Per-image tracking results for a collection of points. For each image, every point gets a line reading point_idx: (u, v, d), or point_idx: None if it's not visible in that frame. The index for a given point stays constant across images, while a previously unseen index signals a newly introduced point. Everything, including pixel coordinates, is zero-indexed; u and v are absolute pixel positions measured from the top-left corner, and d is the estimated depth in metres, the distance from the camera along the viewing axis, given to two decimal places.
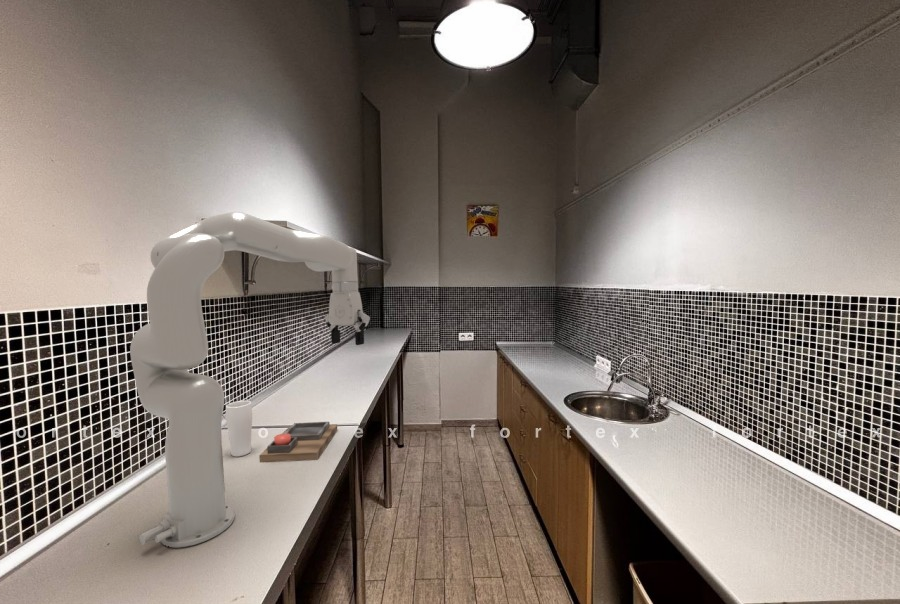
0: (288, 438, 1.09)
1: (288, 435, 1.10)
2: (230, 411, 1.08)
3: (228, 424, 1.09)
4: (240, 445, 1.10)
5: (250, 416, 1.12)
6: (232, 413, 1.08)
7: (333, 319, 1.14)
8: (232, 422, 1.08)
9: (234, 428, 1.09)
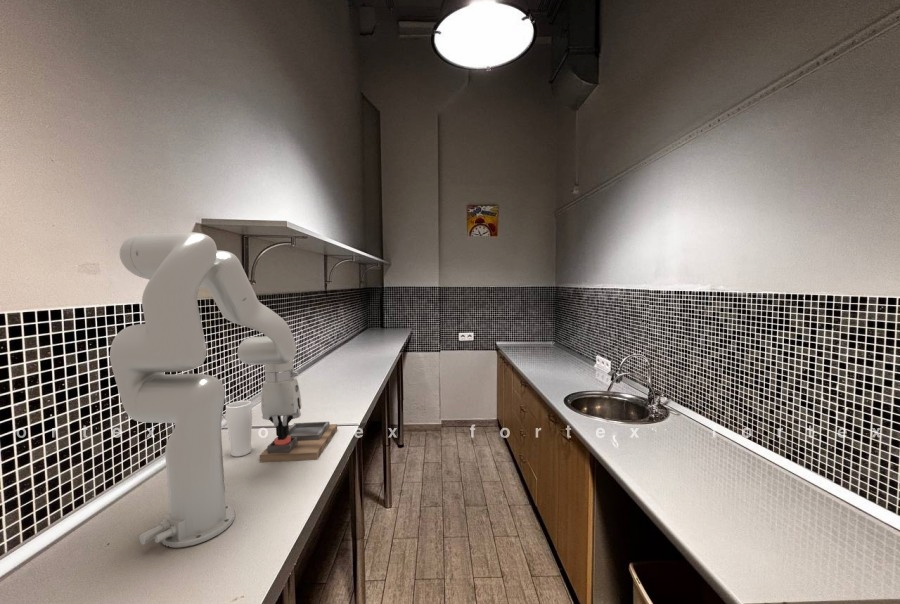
0: (288, 440, 1.09)
1: (288, 437, 1.10)
2: (230, 411, 1.08)
3: (228, 424, 1.09)
4: (240, 445, 1.10)
5: (250, 416, 1.12)
6: (232, 413, 1.08)
7: None
8: (232, 422, 1.08)
9: (234, 428, 1.09)
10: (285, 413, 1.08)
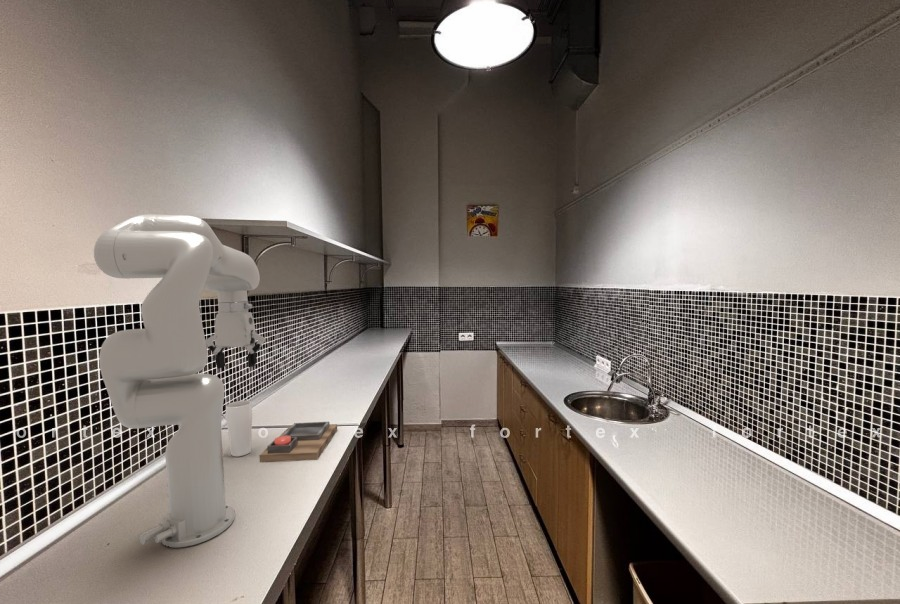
0: (288, 440, 1.09)
1: (288, 437, 1.10)
2: (230, 411, 1.08)
3: (228, 424, 1.09)
4: (240, 445, 1.10)
5: (250, 416, 1.12)
6: (232, 413, 1.08)
7: None
8: (232, 422, 1.08)
9: (234, 428, 1.09)
10: (238, 344, 1.09)
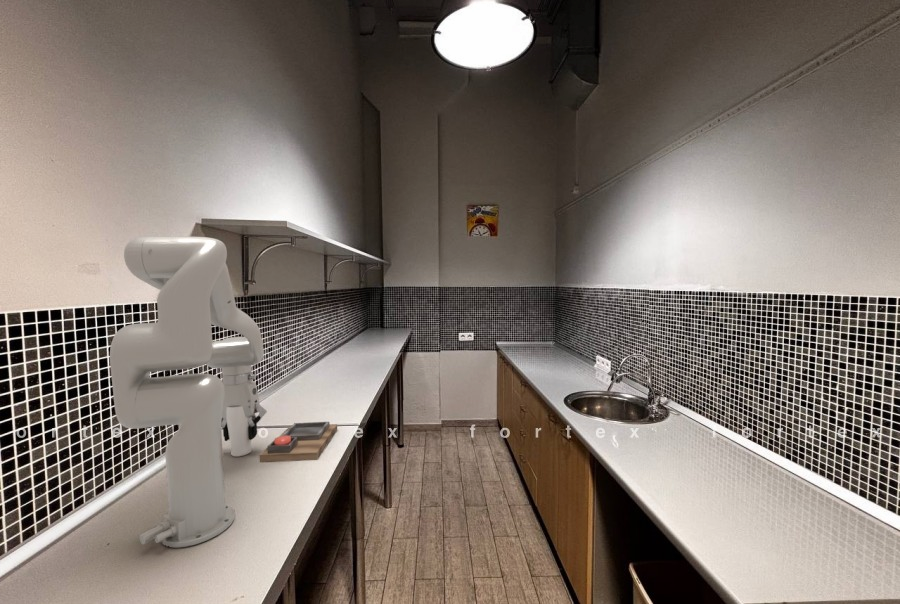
0: (288, 440, 1.09)
1: (288, 437, 1.10)
2: (230, 411, 1.08)
3: (228, 424, 1.09)
4: (240, 445, 1.10)
5: None
6: (232, 413, 1.08)
7: None
8: (232, 422, 1.08)
9: (234, 428, 1.09)
10: None
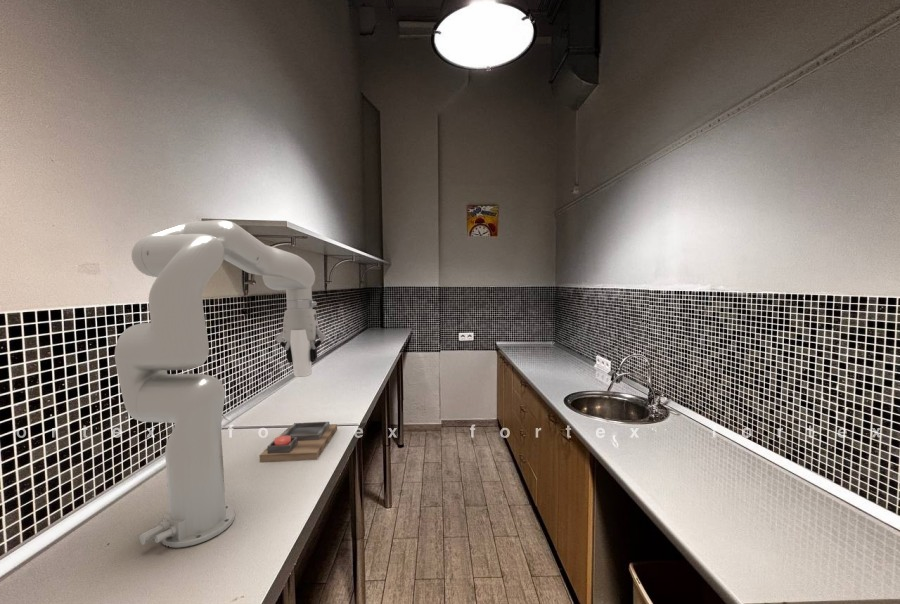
0: (288, 440, 1.09)
1: (288, 437, 1.10)
2: (295, 333, 1.16)
3: (292, 346, 1.17)
4: (303, 366, 1.18)
5: None
6: (297, 335, 1.16)
7: None
8: (296, 344, 1.17)
9: (298, 349, 1.17)
10: None
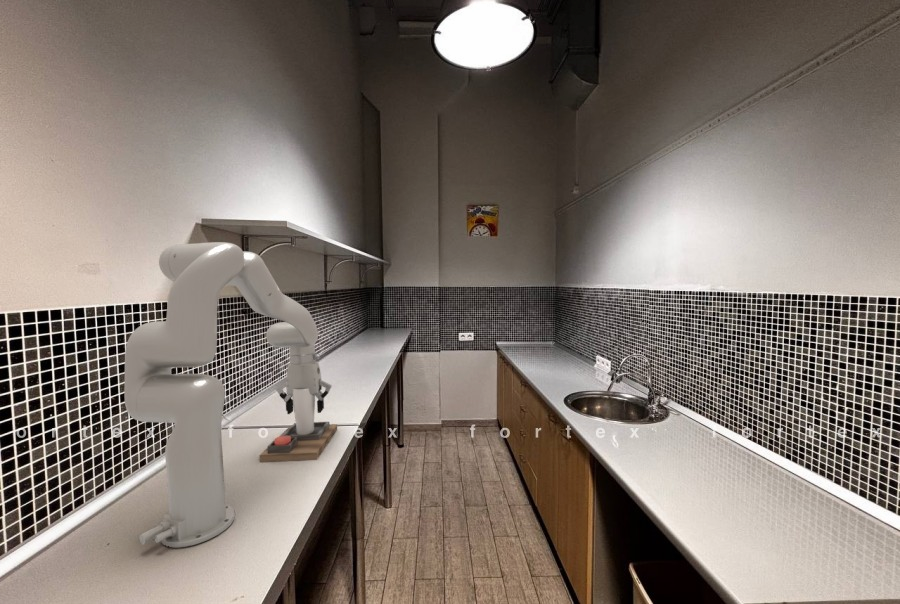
0: (288, 440, 1.09)
1: (288, 437, 1.10)
2: (297, 392, 1.17)
3: (295, 405, 1.18)
4: (306, 424, 1.19)
5: (314, 398, 1.21)
6: (299, 395, 1.17)
7: None
8: (299, 403, 1.17)
9: (301, 409, 1.18)
10: None
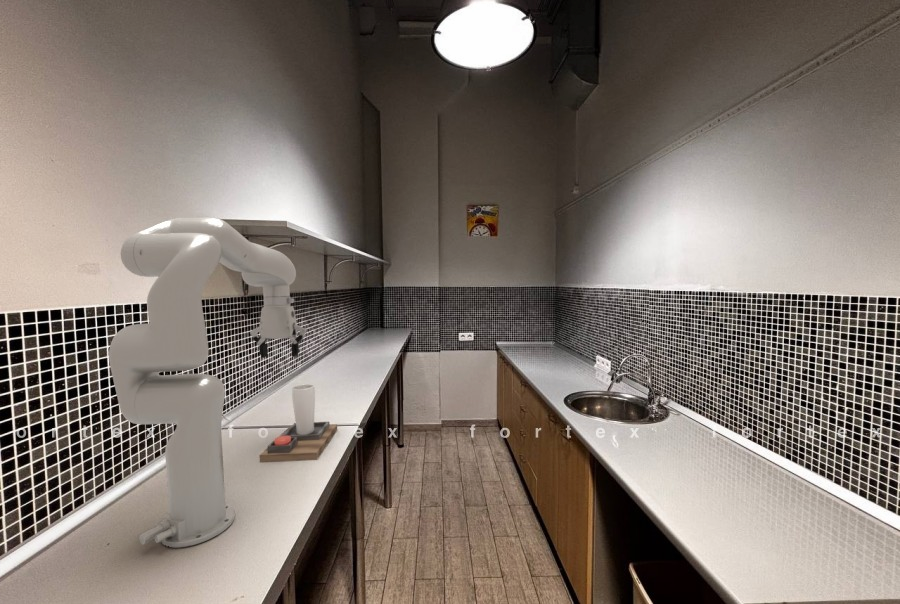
0: (288, 440, 1.09)
1: (288, 437, 1.10)
2: (297, 393, 1.17)
3: (295, 405, 1.18)
4: (306, 424, 1.19)
5: (314, 398, 1.21)
6: (299, 395, 1.17)
7: None
8: (299, 403, 1.17)
9: (301, 409, 1.18)
10: (282, 336, 1.17)
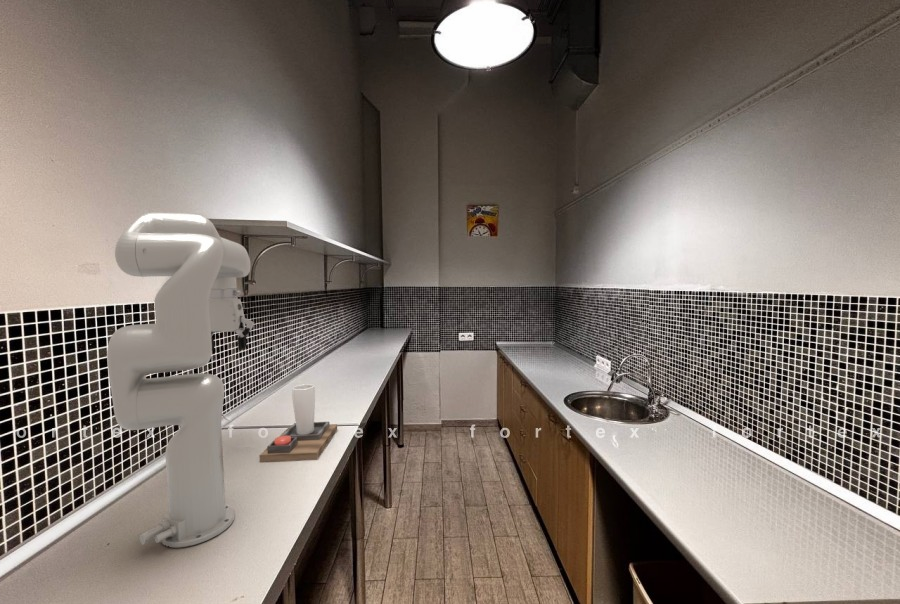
0: (288, 440, 1.09)
1: (288, 437, 1.10)
2: (297, 393, 1.17)
3: (295, 405, 1.18)
4: (306, 424, 1.19)
5: (314, 398, 1.21)
6: (299, 395, 1.17)
7: None
8: (299, 403, 1.17)
9: (301, 409, 1.18)
10: (227, 329, 1.14)
